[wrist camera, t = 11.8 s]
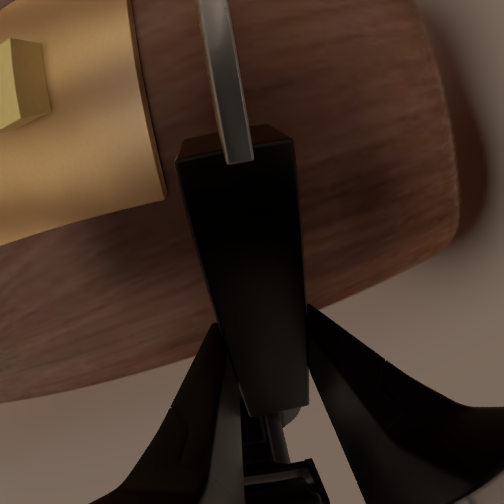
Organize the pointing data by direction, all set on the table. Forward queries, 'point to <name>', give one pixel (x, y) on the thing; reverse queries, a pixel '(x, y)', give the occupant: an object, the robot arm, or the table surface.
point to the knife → (248, 231)
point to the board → (78, 120)
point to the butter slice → (21, 84)
